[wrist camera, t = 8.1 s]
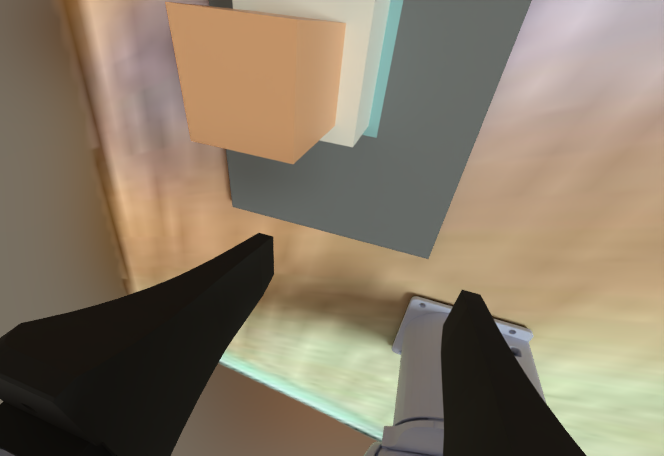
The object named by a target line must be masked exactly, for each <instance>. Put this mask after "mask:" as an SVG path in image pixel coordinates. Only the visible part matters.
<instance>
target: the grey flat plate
mask: <svg viewBox="0 0 664 456" xmlns="http://www.w3.org/2000/svg"><path fill="white" fill-rule="evenodd" d="M531 1H532V0H390V6H389V12H388V17H387V23H386V29H385V35H384V40H383V46H382V52H381V57H380V63H379V69H378V75H377V80H376V86H375V92H374V97H373V103H372V109H371V115H370V120H369V126H368V127H367V129H366V130H365V131H364V133H363V134H362V135H361V137H360V138H359V140H358V141H357V142H356V144H355V145H354V146H353V147H349V146H344V145H339V144H334V143H329V142H325V141H320V140H319V141H318V142H317V143H316V144H315V145H314V146H313V147H311V148H310V149H309V150H308V151H307V152H306V153H305V154H304V155H303V156H302V157H301V158H300V159H299V160H297V161H296V162H295V163H294V164H289V163H285V162H281V161H276V160H272V159H268V158H263V157H259V156H255V155H250V154H246V153H242V152H237V151H233V150H229V149H226V153H227V162H228V171H229V179H230V188H231V197H232V205H233V207H236V208H239V209H243V210H247V211H250V212H254V213H258V214H262V215H265V216H269V217H273V218H277V219H280V220H284V221H288V222H292V223H295V224H299V225H303V226H307V227H310V228H314V229H318V230H322V231H325V232H329V233H333V234H337V235H340V236H344V237H348V238H351V239H355V240H359V241H363V242H366V243H370V244H374V245H378V246H381V247H385V248H389V249H393V250H396V251H400V252H404V253H408V254H411V255H415V256H419V257H423V258H426V259H428V258H429V256H430V253H431V251H432V248H433V246H434V243H435V241H436V238H437V236H438V233H439V231H440V228H441V226H442V223H443V221H444V218H445V216H446V213H447V211H448V208H449V206H450V203H451V201H452V198H453V196H454V193H455V191H456V188H457V186H458V183H459V181H460V178H461V176H462V173H463V171H464V168H465V166H466V163H467V161H468V158H469V156H470V153H471V151H472V148H473V146H474V143H475V141H476V138H477V136H478V133H479V131H480V128H481V126H482V123H483V121H484V118H485V116H486V113H487V111H488V108H489V106H490V103H491V101H492V98H493V96H494V93H495V91H496V88H497V86H498V83H499V81H500V78H501V76H502V73H503V71H504V68H505V66H506V63H507V61H508V58H509V56H510V53H511V51H512V48H513V46H514V43H515V41H516V38H517V36H518V33H519V31H520V28H521V26H522V23H523V21H524V18H525V16H526V13H527V11H528V8H529V6H530V3H531ZM209 6H211V7H221V8H231V9H233V3H232V0H209Z"/></svg>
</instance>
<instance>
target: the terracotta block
mask: <svg viewBox="0 0 664 456" xmlns="http://www.w3.org/2000/svg"><path fill="white" fill-rule="evenodd" d="M165 4H166V9H167V14H168V20H169V25H170V31H171V36H172V41H173V47H174V52H175V58H176V63H177V69H178V74H179V79H180V85H181V90H182V96H183V101H184V106H185V112H186V117H187V123H188V128H189V134H190V139H191V141H194V142H198V143H202V144H207V145H211V146H216V147H220V148H224V149H229V150H233V151H237V152H242V153H246V154H250V155H255V156H259V157H263V158H268V159H272V160H276V161H281V162H285V163H289V164H294V163H295V162H296V161H297V160H299V159H300V158H301V157H302V156H303V155H304V154H305V153H306V152H307V151H308V150H309V149H310V148H311V147H313V146H314V145H315V144H316V143H317V142H318V141H319V140H320V139H321V138H322V137H323V136H324V135H326V134H327V133H328V132H329V131H330V130H331V129H332V128H333V127H334V126H335V121H336V112H337V102H338V93H339V84H340V75H341V66H342V56H343V47H344V38H345V29H346V23H342V22H334V21H327V20H319V19H312V18H304V17H297V16H289V15H282V14H274V13H266V12H259V11H250V10H241V9H231V8H221V7H211V6H202V5H192V4H182V3H172V2H165Z"/></svg>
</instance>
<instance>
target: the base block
mask: <svg viewBox="0 0 664 456" xmlns="http://www.w3.org/2000/svg"><path fill="white" fill-rule="evenodd" d="M232 3H233V9H241V10H250V11H259V12H266V13H274V14H282V15H289V16H297V17H304V18H312V19H319V20H327V21H334V22H342V23H346V29H345V38H344V47H343V56H342V66H341V75H340V84H339V93H338V102H337V112H336V121H335V126H334V127H333V128H332V129H331V130H330V131H329V132H328V133H327V134H326V135H324V136H323V137H322V138H321V139H320V141H325V142H329V143H334V144H339V145H344V146H349V147H353V146H354V145H355V144H356V142H357V141H358V140H359V138H360V137H361V135H362V134H363V133H364V131H365V130H366V129H367V127H368V126H369V120H370V115H371V109H372V103H373V97H374V92H375V86H376V80H377V75H378V69H379V63H380V57H381V52H382V46H383V40H384V35H385V29H386V23H387V17H388V12H389V6H390V0H232Z"/></svg>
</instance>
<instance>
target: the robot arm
mask: <svg viewBox="0 0 664 456" xmlns="http://www.w3.org/2000/svg"><path fill="white" fill-rule="evenodd" d="M273 275H274V255H273V237H272V236H268V235H265V234H261V233H258V234H256V235H254V236H253V237H251V238H249V239H247V240H246V241H244V242H242V243H240V244H239V245H237V246H235V247H233V248H232V249H230V250H228V251H226V252H224V253H223V254H221V255H219V256H217V257H215V258H214V259H212V260H210V261H208V262H206V263H204V264H202V265H200V266H198V267H196V268H194V269H192V270H190V271H188V272H186V273H183V274H181V275H179V276H177V277H175V278H172V279H170V280H167V281H165V282H163V283H160V284H158V285H155V286H153V287H150V288H147V289H144V290H141V291H139V292H136V293H133V294H130V295H127V296H124V297H121V298H119V299H115V300H112V301H109V302H105V303H102V304H99V305H95V306H91V307H88V308H84V309H80V310H77V311H73V312H69V313H65V314H60V315H56V316H51V317H47V318H43V319H39V320H34V321H29V322H24V323H21V324H19V325H18V326H16V327H15V328H14V329H12V330H11V331H9V332H8V333H7V334H5V335H4V336H2V337H1V338H0V399H1V400H2V401H4V402H3V403H1V404H0V456H171V453H172V451H173V449H174V447H175V445H176V443H177V441H178V439H179V437H180V434H181V432H182V430H183V428H184V426H185V424H186V422H187V420H188V418H189V417H190V414H191V413H192V410H193V409H194V406H195V405H196V403H197V400H198V399H199V397H200V395H201V393H202V391H203V389H204V388H205V386H206V384H207V382H208V380H209V378H210V376H211V375H212V373H213V371H214V369H215V367H216V366H217V364H218V362H219V360H220V359H221V357H222V355H223V353H224V352H225V350H226V348H227V347H228V345H229V344H230V342H231V341H232V339H233V338H234V336H235V335H236V333H237V332H238V331H239V329H240V328H241V326H242V325H243V323H244V322H245V321H246V319H247V318H248V316H249V315H250V313H251V312H252V311H253V309H254V308H255V306H256V305H257V303H258V302H259V300H260V299H261V297H262V296H263V294H264V292H265V290H266V289H267V287H268V285H269V283H270V281H271V279H272V277H273ZM421 303H424V304H421ZM532 338H533V333H532V331H531V330H530V329H528V328H524V327H521V326H517V325H514V324H511V323H507V322H504V321H500V320H497V319H493V317H492V315H491V313H490V312H489V310H488V308H487V306H486V304H485V302H484V301H483V299H482V297H481V295H479V294H476V293H472V292H468V291H465V290H462V291H461V293H460V294H459V296H458V298H457V300H456V302H455V304H454V306H453V307H452V306H449V305H445V304H442V303H439V302H435V301H432V300H428V299H425V298H421V297H418V296H414V297H412V298H411V300H410V302H409V305H408V307H407V310H406V312H405V315H404V317H403V320H402V322H401V325H400V327H399V330H398V333H397V335H396V338H395V340H394V343H393V345H392V351H393V352H395V353H397V354H400V355H401V361H400V370H399V378H398V387H397V396H396V404H395V413H394V422H393V426H384V431H383V438H382V442H375V443H373V444H372V445H371V446H370V447H369V449H368V450H367V452H366V453H365V455H364V456H586V455H585V453H584V452H583V451H582V450H581V449H580V447H579V446H578V445H577V444H576V442H575V441H574V440H573V439H572V437H571V436H570V435H569V434H568V432H567V431H566V430H565V428H564V427H563V426H562V424H561V423H560V422H559V420H558V419H557V418H556V416H555V415H554V414H553V412H552V411H551V410H550V408H549V407H548V406H547V404H546V401H545V398H544V394H543V391H542V387H541V384H540V380H539V377H538V373H537V370H536V366H535V363H534V359H533V356H532V352H531V349H530V345H529V341H530V340H531V339H532Z"/></svg>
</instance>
